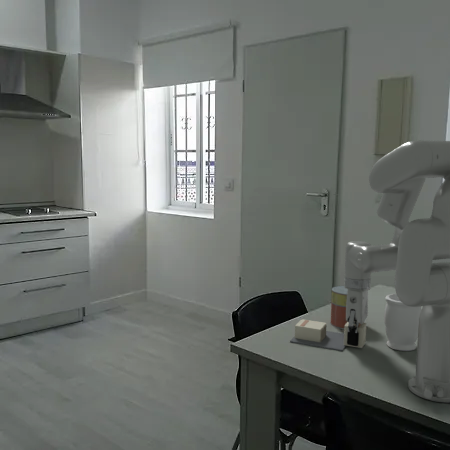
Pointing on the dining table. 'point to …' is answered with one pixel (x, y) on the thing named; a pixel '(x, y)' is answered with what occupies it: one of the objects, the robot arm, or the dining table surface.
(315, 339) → the cream striped box
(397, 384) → the dining table surface
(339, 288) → the canned food
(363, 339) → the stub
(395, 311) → the jar
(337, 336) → the mat
